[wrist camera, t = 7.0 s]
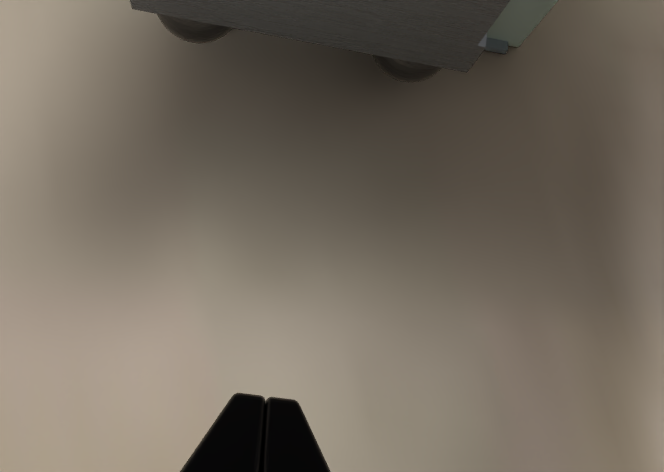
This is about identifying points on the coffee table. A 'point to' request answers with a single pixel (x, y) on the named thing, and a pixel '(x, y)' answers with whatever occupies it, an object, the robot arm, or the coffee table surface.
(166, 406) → the coffee table surface
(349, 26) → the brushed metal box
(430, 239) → the coffee table surface
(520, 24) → the dock bay
